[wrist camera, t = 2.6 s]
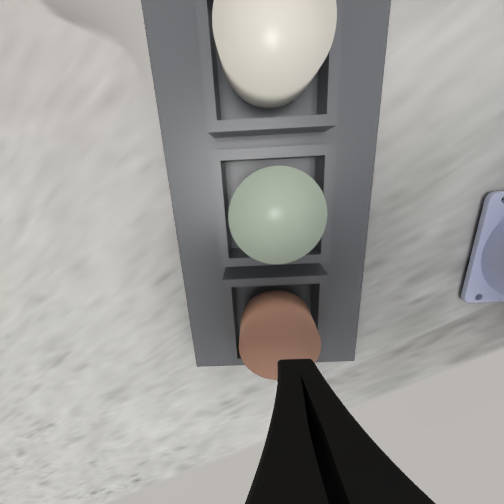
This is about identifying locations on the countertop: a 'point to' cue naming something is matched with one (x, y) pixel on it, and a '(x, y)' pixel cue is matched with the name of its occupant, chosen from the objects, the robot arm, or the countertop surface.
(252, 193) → the sage button
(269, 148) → the panel
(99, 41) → the countertop surface
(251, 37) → the cream button
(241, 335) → the terracotta button
